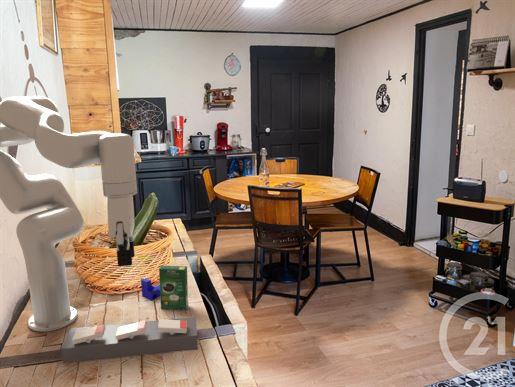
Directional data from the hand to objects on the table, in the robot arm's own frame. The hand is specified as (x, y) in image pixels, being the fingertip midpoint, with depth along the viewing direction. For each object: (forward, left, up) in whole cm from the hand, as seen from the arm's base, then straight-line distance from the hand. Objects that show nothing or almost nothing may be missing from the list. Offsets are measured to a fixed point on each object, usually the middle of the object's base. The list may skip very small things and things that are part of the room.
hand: (126, 260), depth 104 cm
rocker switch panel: (0, 0, -23) cm, 23 cm away
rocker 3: (+2, +10, -19) cm, 21 cm away
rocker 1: (+2, -10, -19) cm, 21 cm away
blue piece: (-29, +6, -24) cm, 38 cm away
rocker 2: (+2, 0, -19) cm, 19 cm away
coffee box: (-18, +10, -24) cm, 31 cm away
